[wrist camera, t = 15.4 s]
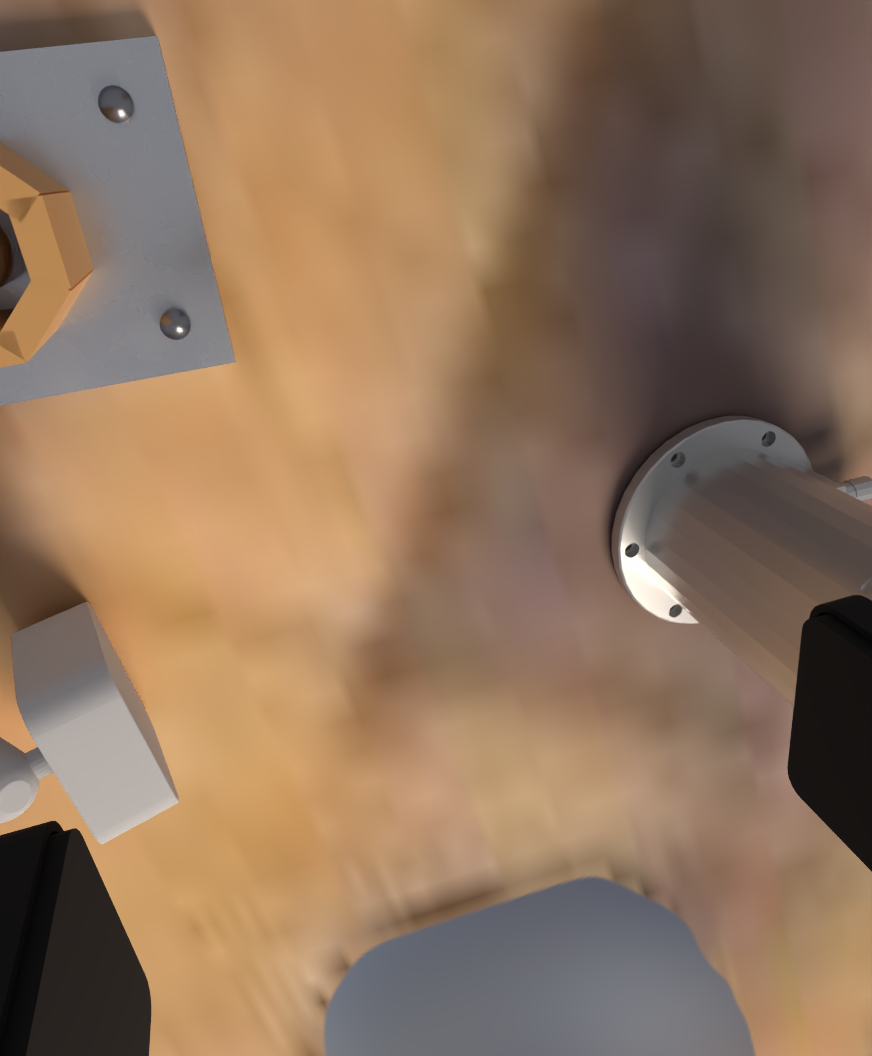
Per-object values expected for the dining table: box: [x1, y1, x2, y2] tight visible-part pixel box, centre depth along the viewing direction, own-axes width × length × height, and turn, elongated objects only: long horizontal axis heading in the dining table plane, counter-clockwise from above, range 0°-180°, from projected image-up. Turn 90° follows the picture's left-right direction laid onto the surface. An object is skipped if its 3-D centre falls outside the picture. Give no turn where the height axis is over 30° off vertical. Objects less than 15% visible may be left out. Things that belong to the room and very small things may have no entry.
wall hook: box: [0, 602, 179, 844], centre depth 34 cm, size 8×10×10 cm
